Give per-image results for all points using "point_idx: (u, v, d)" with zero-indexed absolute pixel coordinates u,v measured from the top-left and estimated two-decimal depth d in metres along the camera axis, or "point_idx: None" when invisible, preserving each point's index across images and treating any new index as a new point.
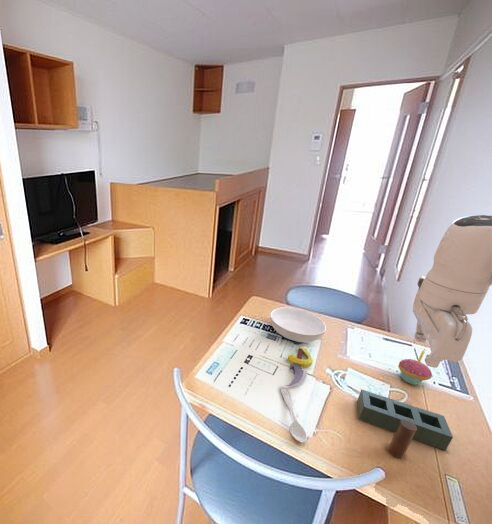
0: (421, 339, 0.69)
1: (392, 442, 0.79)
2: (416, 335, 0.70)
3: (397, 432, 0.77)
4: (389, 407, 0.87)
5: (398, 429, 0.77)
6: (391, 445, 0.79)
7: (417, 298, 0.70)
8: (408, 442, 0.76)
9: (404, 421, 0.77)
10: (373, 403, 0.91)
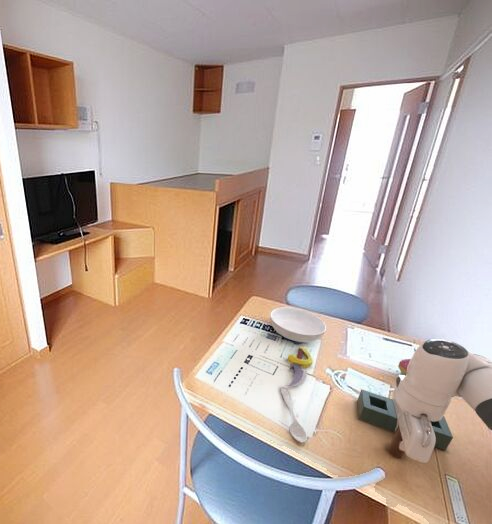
0: None
1: (392, 442, 0.79)
2: None
3: (397, 432, 0.77)
4: (389, 407, 0.87)
5: (398, 429, 0.77)
6: (391, 445, 0.79)
7: (396, 390, 0.82)
8: None
9: None
10: (373, 403, 0.91)
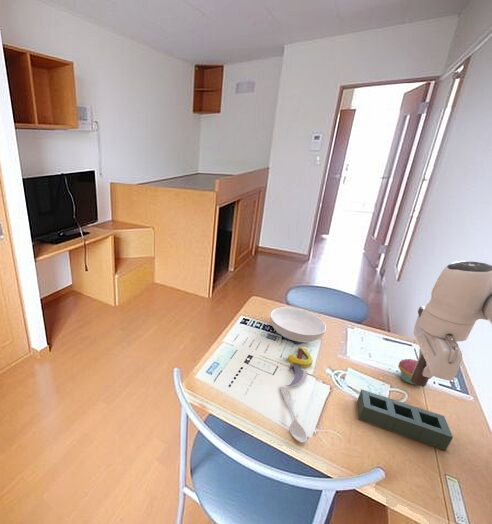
0: None
1: (414, 371, 0.80)
2: None
3: (420, 360, 0.78)
4: (389, 407, 0.87)
5: (421, 357, 0.78)
6: (413, 374, 0.80)
7: (417, 323, 0.83)
8: None
9: None
10: (373, 403, 0.91)
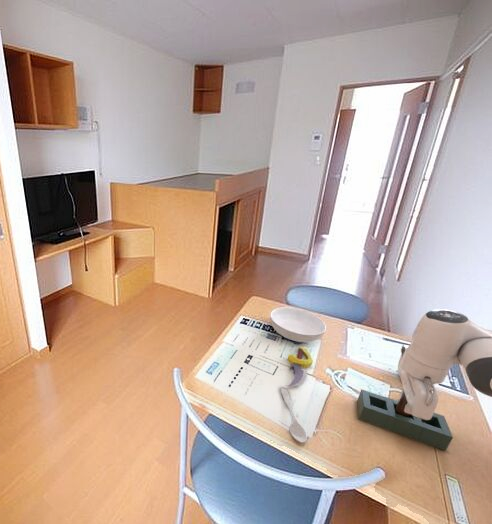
0: None
1: (397, 406, 0.86)
2: None
3: (402, 397, 0.84)
4: (389, 407, 0.87)
5: (403, 394, 0.84)
6: (396, 409, 0.86)
7: (401, 360, 0.89)
8: None
9: None
10: (373, 403, 0.91)
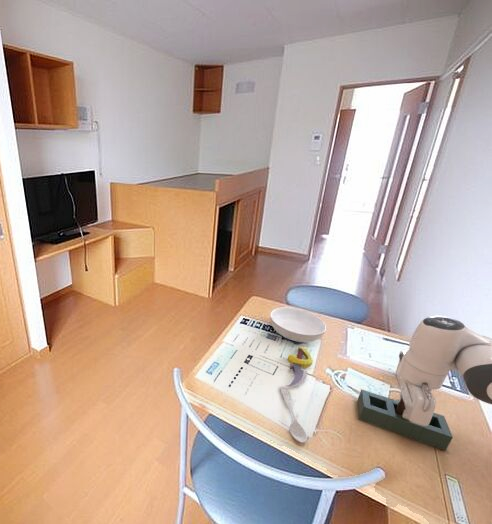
0: None
1: (395, 412, 0.86)
2: None
3: (400, 402, 0.85)
4: (389, 407, 0.87)
5: (401, 399, 0.84)
6: None
7: (399, 366, 0.90)
8: None
9: None
10: (373, 403, 0.91)
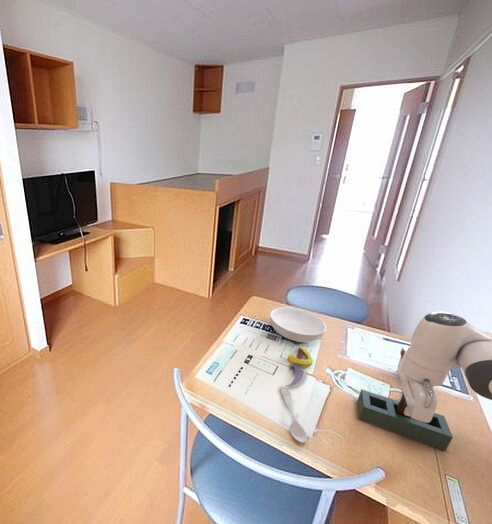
0: None
1: (397, 409, 0.86)
2: None
3: (402, 399, 0.84)
4: (389, 407, 0.87)
5: (402, 396, 0.84)
6: (396, 412, 0.86)
7: (400, 363, 0.89)
8: None
9: None
10: (373, 403, 0.91)
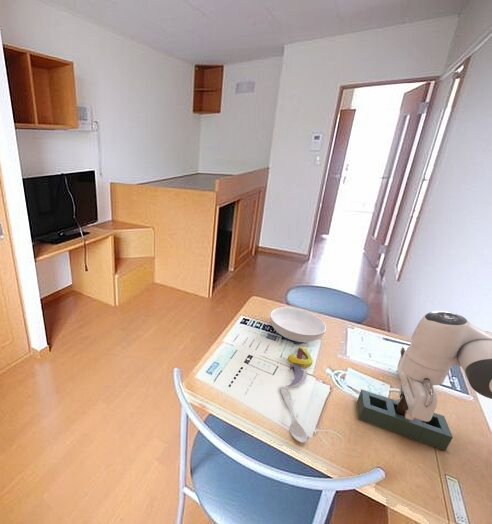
0: None
1: None
2: (400, 393, 0.88)
3: (399, 405, 0.85)
4: (389, 407, 0.87)
5: (400, 402, 0.85)
6: None
7: (400, 362, 0.89)
8: None
9: None
10: (373, 403, 0.91)
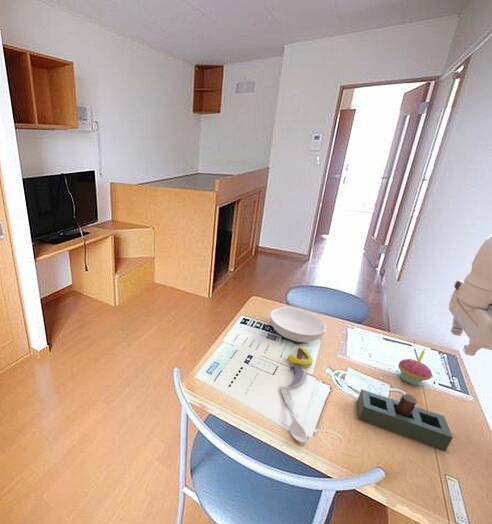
0: (457, 333, 0.82)
1: None
2: (453, 329, 0.82)
3: (399, 405, 0.85)
4: (389, 407, 0.87)
5: (400, 402, 0.85)
6: None
7: (453, 298, 0.83)
8: (409, 414, 0.84)
9: (405, 395, 0.85)
10: (373, 403, 0.91)
